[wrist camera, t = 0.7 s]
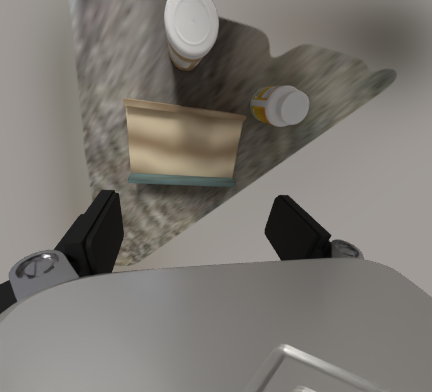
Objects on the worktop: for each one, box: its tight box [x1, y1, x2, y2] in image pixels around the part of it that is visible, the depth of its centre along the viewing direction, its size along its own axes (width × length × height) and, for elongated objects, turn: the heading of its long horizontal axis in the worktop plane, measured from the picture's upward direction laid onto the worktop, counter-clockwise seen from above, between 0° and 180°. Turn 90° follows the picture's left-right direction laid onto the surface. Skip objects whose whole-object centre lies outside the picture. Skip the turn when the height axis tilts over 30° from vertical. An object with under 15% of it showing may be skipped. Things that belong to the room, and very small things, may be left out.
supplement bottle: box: [250, 85, 309, 127], centre depth 28 cm, size 5×5×10 cm
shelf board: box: [123, 98, 247, 187], centre depth 31 cm, size 12×18×4 cm, turn 83°
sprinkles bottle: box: [164, 0, 219, 71], centre depth 21 cm, size 5×5×14 cm
